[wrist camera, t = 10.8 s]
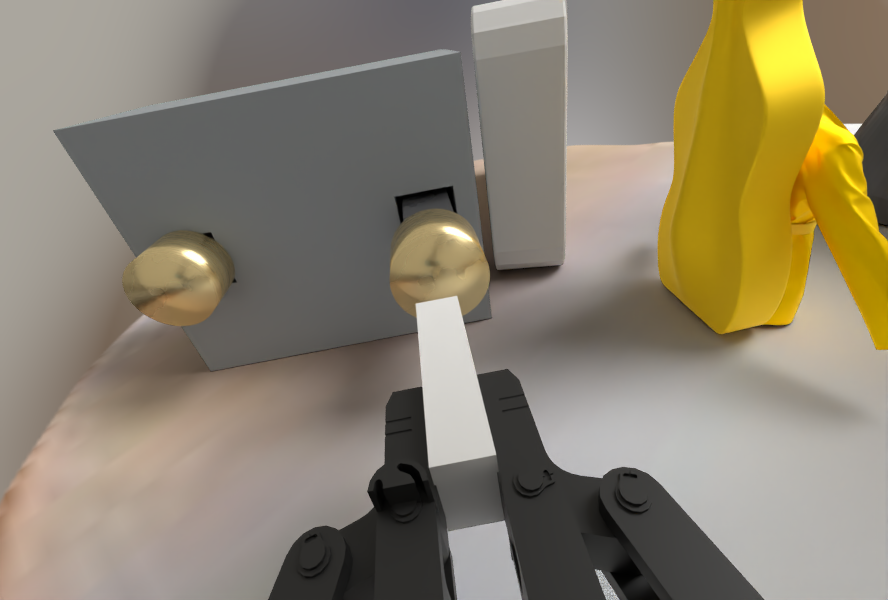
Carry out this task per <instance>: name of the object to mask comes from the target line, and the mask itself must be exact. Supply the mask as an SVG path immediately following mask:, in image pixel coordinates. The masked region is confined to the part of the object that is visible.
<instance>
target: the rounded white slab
mask: <svg viewBox="0 0 888 600" xmlns="http://www.w3.org/2000/svg"><path fill="white" fill-rule="evenodd" d="M471 34H472V47H473V57H474V68H475V77H476V88H477V96H478V107H479V117H480V127H481V136H482V146H483V156H484V166H485V176H486V186H487V195H488V205H489V215H490V225H491V234H492V244H493V253H494V261H495V266H496V269H497V270H503V269H516V268H529V267H542V266H554V265H562V264H563V262H564V259H565V248H566V155H567V144H566V143H567V0H502V1H497V2H492V3H487V4H482V5H478V6H473V8H472V11H471Z"/></svg>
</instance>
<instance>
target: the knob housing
mask: <svg viewBox="0 0 888 600" xmlns="http://www.w3.org/2000/svg"><path fill="white" fill-rule="evenodd" d="M54 133H55V135H56V136H57V138H58V139H59V141H60V142H61V144H62V145H63V147H64V148H65V149H66V151H67V153H68V154H69V156H70V157H71V159H72V160H73V162H74V163H75V165H76V167H77V168H78V169H79V171H80V172H81V174H82V176H83V177H84V179H85V180H86V182H87V183H88V185H89V186H90V188H91V189H92V191H93V192H94V194H95V195H96V197H97V199H98V200H99V202H100V203H101V204H102V206H103V208H104V209H105V211H106V212H107V214H108V215H109V217H110V218H111V220H112V221H113V223H114V224H115V226H116V227H117V229H118V231H119V232H120V234H121V235H122V237H123V238H124V239H125V241H126V242H127V244H128V246H129V247H130V249H131V250H132V252H133V253H134V255H135V256H136V258H137V257H138V256H139V255H140V254H141V253H143V252H144V251H145V250H146V249H147V248H149V247H150V246H151V245H152V244H153V243H155V242H156V241H157V240H158V239H159V238H161V237H162V236H163V235H165V234H167V233H170V232H173V231H179V230H187V231H194V232H198V233H201V234H202V233H208V232H211V233H212V235H213V237H214V239H215V241H216V242H218V243H219V244H220V245H221V246H222V247H223V248H224V249H225V250H226V251H227V252H228V254H229V255H230V257H231V259H232V261H233V264H234V268H235V277H234V280H233V283H232V284H231V286H230V287H229V289H228V290H227V292H226V293H225V295H224V296H223V298H222V299H221V301H220V302H219V304H218V305H217V307H216V308H215V310H214V311H213V313H212V314H211V315H210V316H209V317H208V318H207V319H206V320H204V321H202V322H200V323H198V324H195V325H190V326H181V327H182V328H183V330H184V331H185V333H186V334H187V336H188V337H189V339H190V340H191V342H192V343H193V345H194V346H195V348H196V349H197V351H198V352H199V354H200V356H201V357H202V359H203V360H204V362H205V363H206V365H207V366H208V368H209V369H210V371H215V370H220V369H226V368H231V367H236V366H241V365H247V364H252V363H257V362H262V361H268V360H273V359H278V358H283V357H289V356H294V355H299V354H304V353H310V352H315V351H320V350H326V349H331V348H336V347H341V346H347V345H352V344H357V343H362V342H368V341H373V340H378V339H383V338H389V337H394V336H399V335H404V334H410V333H415V332H418V327H417V318H416V317H414V316H412V315H410V314H408V313H407V312H406V311H404V310H403V309H402V308H401V307H400V306H399V305H398V303H397V302H396V300H395V299H394V297H393V294H392V292H391V288H390V249H391V242H392V238H393V236H394V233H395V231H396V230H397V228H398V227H399V226H400V224H401V223H402V222H403V199H402V195H406V194H411V193H417V192H422V191H427V190H432V189H438V188H443V187H445V188H446V191H447V194H448V197H449V200H450V203H451V206H452V209H453V212H455V213H457V214H459V215H460V216H462V217H463V218H465V219H466V220H467V221H468V222H469V223H470V225H471V226H472V227H473V229H474V231H475V233H476V235H477V238H478V240H479V243H480V245H481V247H482V250H483V252H484V247H483V239H482V230H481V222H480V213H479V205H478V196H477V188H476V179H475V171H474V162H473V154H472V145H471V137H470V128H469V119H468V111H467V102H466V95H465V85H464V77H463V69H462V60H461V52H457V51H451V50H445V49H441V50H436V51H431V52H425V53H420V54H415V55H410V56H405V57H399V58H394V59H389V60H384V61H379V62H373V63H368V64H363V65H358V66H353V67H348V68H342V69H337V70H332V71H327V72H321V73H317V74H311V75H306V76H301V77H296V78H290V79H286V80H280V81H275V82H270V83H264V84H259V85H254V86H249V87H244V88H239V89H233V90H228V91H223V92H218V93H213V94H207V95H202V96H197V97H192V98H186V99H182V100H176V101H171V102H166V103H161V104H155V105H151V106H147V107H142V108H139V109H135V110H131V111H127V112H123V113H119V114H116V115H112V116H108V117H104V118H100V119H96V120H92V121H89V122H84V123H80V124H77V125H73V126H69V127H65V128H62V129H57V130H54ZM462 318H463V322H464V323H468V322H473V321H478V320H483V319H489V318H492V316H491V307H490V299H489V290H488V289H487V292H486V294H485V296H484V297H483V299H482V300H481V302H480V303H479V304H478V305H477V306H476V307H475V308H474V309H473V310H471V311H470V312H469V313H467V314H465V315H463V316H462Z"/></svg>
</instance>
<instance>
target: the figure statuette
mask: <svg viewBox="0 0 888 600" xmlns="http://www.w3.org/2000/svg"><path fill="white" fill-rule="evenodd" d="M824 102H825V90H824V84H823V79H822V75H821V71H820V68H819V65H818V62H817V59H816V56H815V53H814V50H813V47H812V44H811V41H810V37H809V34H808V30H807V27H806V23H805V18H804V13H803V0H713V15H712V20H711V23H710V26H709V28H708V31H707V34H706V36H705V38H704V40H703V42H702V44H701V46H700V48H699V50H698V52H697V54H696V56H695V58H694V60H693V62H692V64H691V66H690V67H689V69H688V71H687V73H686V75H685V77H684V79H683V81H682V83H681V85H680V88H679V90H678V93H677V97H676V102H675V108H674V175H673V181H672V184H671V188H670V190H669V193H668V195H667V198H666V201H665V204H664V207H663V210H662V215H661V219H660V225H659V233H658V268H659V275H660V279H661V281H662V283H663V285H664V286H665V287H666V288H667V289H669V290H670V291H671V292H672V293H673V294H674V295H675V296H676V297H677V298H678V299H679V300H681V301H682V302H683V303H684V304H685V305H686V306H687V307H688V308H689V309H690V310H691V311H693V312H694V313H695V314H696V315H697V316H698V317H699V318H700V319H702V320H703V321H704V322H705V323H706V324H707V325H708V326H709V327H710V328H712V329H713V330H714V331H715V332H716V333H718V334H725V333H729V332H733V331H738V330H742V329H746V328H750V327H754V326H759V325H767V324H768V325H787V324H790V323H791V322H792V321H793V318H794V316H795V314H796V311H797V309H798V307H799V304H800V302H801V300H802V297H803V294H804V289H805V283H806V278H807V273H808V268H809V261H810V256H811V250H812V244H813V240H814V229H815V227H816V225H817V224H818V226H819V229H820V231H821V233H822V235H823V237H824V239H825V241H826V243H827V245H828V247H829V249H830V251H831V253H832V255H833V257H834V259H835V261H836V263H837V265H838V267H839V269H840V271H841V273H842V275H843V277H844V279H845V282H846V283H847V286H848V288H849V290H850V292H851V294H852V296H853V298H854V300H855V302H856V304H857V306H858V308H859V310H860V313H861V315H862V317H863V319H864V321H865V324H866V326H867V328H868V331H869V333H870V335H871V338H872V340H873V343H874V345H875V348H876V350H888V240H887V239H886V238H885V237H884V236H883V235H882V234H881V233H880V232H879V227H878V222H877V217H876V213H875V209H874V205H873V203H872V201H871V199H870V198H869V197H868V196H867V182H866V178H865V176H864V173H863V166H862V161H863V152H862V149H861V147H860V146H859V144H858V142H857V139H856V138H855V136H854V135H853V134H851V133H850V132H849V131H848V129H847V128H846V127H845V126H844V125H843V123H842V122H841V121H840V120H839V119H838V118H837V117H836V115H835V114H833V112H832V111H831V110H830V109H829V108H828V107H827V106H826V105H825V104H824Z"/></svg>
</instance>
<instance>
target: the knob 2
mask: <svg viewBox="0 0 888 600" xmlns="http://www.w3.org/2000/svg"><path fill="white" fill-rule="evenodd" d="M402 199H403V222H402V223H401V224H400V226H399V227H398V228H397V230H396V231H395V233H394V236H393V238H392V242H391V249H390V288H391V292H392V294H393V297H394V299H395V300H396V302H397V303H398V305H399V306H400V307H401V308H402V309H403V310H404V311H406V312H407V313H408V314H410V315H412V316H414V317H416V318H417V314H416V304H417V303H422V302H427V301H432V300H437V299H443V298H448V297H453V296H457V297H458V301H459V306H460V310H461V314H462V316H463V315H465V314H467V313H469V312H470V311H471V310H473V309H474V308H475V307H476V306H477V305H478V304H479V303H480V302H481V300H482V299H483V297H484V296H485V294H486V292H487V289H488V286H489V282H490V270H489V265H488V262H487V260H486V257H485V255H484V252H483V250H482V247H481V245H480V243H479V240H478V238H477V235H476V233H475V231H474V229H473V227H472V226H471V225H470V223H469V222H468V221H467V220H466V219H465V218H463V217H462V216H460V215H459V214H457V213H455V212H453V209H452V206H451V203H450V200H449V197H448V194H447V191H446V188H445V187H443V188H438V189H432V190H427V191H422V192H417V193H411V194H406V195H402Z"/></svg>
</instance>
